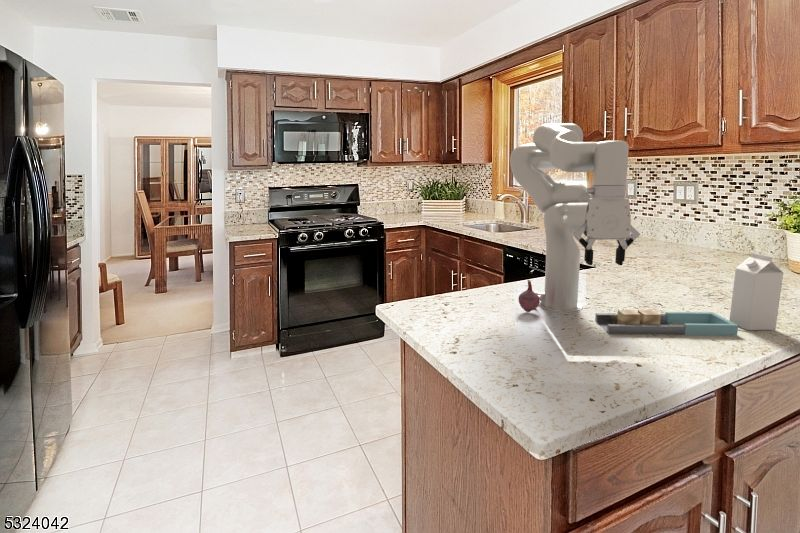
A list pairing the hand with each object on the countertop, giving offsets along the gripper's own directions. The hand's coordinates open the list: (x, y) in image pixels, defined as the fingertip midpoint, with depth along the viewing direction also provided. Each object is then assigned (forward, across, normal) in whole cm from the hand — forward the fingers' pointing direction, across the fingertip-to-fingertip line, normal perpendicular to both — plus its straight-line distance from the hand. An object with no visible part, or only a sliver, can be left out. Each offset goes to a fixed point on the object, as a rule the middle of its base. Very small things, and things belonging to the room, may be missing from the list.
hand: (604, 263), depth 121 cm
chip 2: (+17, +12, 0) cm, 21 cm away
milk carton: (+18, +40, +5) cm, 44 cm away
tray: (+18, +24, 0) cm, 30 cm away
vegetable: (+18, -15, +16) cm, 28 cm away
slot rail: (+18, +9, 0) cm, 20 cm away
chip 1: (+17, +7, 0) cm, 18 cm away
